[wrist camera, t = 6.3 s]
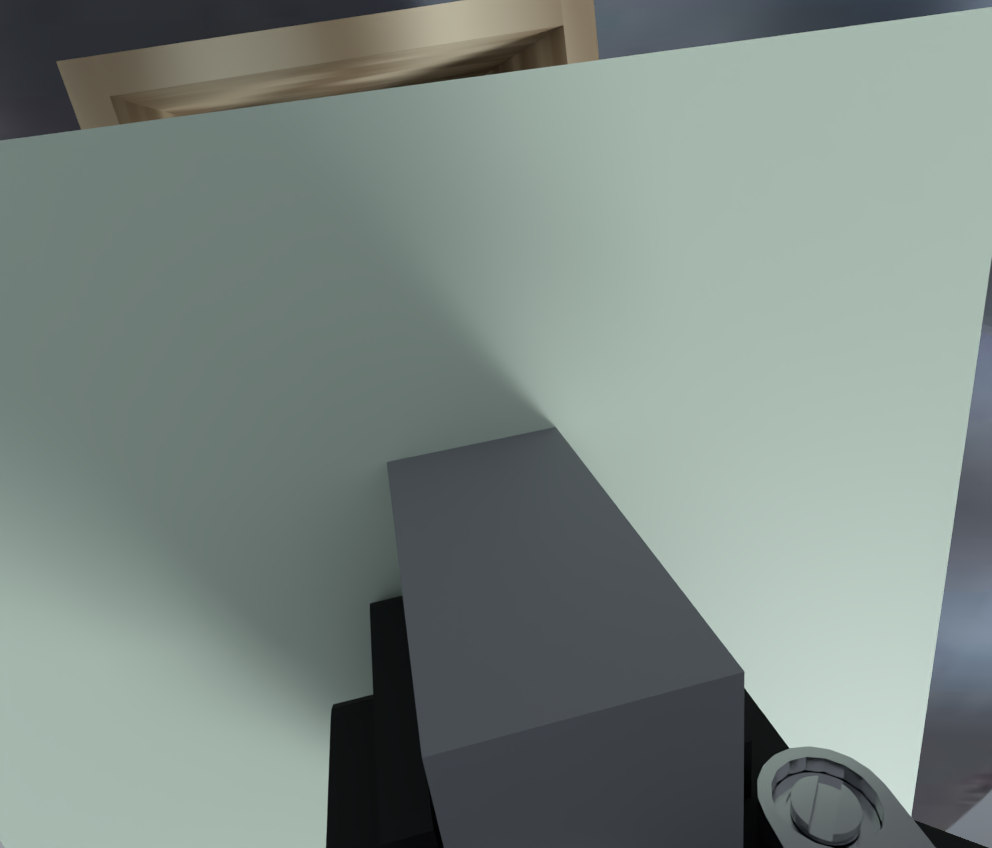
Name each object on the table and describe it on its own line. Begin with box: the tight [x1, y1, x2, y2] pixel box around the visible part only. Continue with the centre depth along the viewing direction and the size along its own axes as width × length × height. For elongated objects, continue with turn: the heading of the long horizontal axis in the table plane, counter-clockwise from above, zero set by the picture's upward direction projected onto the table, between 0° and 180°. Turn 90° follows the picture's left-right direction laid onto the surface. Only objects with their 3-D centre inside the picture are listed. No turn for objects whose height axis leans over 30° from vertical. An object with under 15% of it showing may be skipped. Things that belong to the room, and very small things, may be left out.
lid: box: [0, 7, 992, 848], centre depth 9 cm, size 16×16×7 cm
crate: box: [56, 0, 599, 130], centre depth 32 cm, size 15×15×23 cm
